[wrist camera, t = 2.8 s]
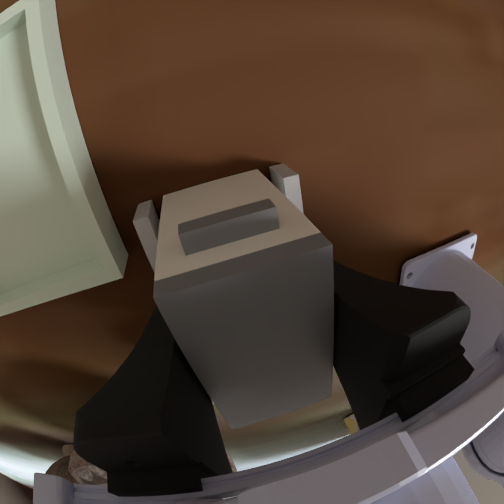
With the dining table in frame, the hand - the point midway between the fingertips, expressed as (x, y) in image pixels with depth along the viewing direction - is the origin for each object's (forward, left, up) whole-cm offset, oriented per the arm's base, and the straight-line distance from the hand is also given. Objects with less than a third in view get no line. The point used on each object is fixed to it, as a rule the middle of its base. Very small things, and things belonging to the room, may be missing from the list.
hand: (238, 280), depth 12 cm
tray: (+7, +9, -2) cm, 12 cm away
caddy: (0, 0, -2) cm, 2 cm away
